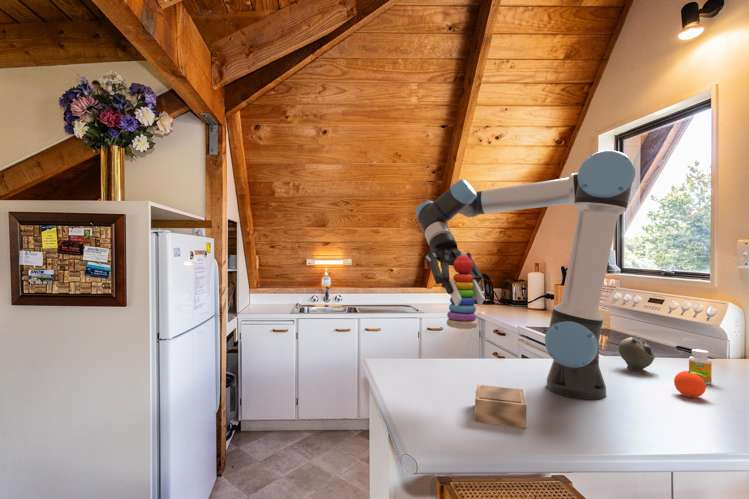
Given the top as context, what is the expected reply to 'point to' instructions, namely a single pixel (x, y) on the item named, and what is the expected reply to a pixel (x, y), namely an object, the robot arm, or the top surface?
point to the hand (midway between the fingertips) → (470, 302)
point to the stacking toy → (463, 296)
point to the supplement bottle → (701, 364)
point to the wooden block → (500, 406)
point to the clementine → (690, 384)
